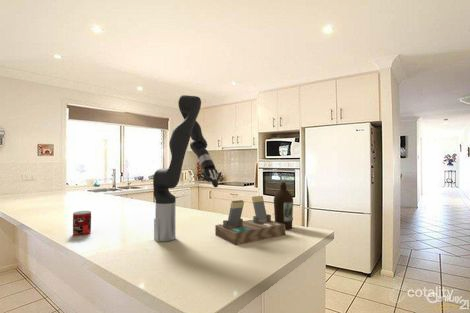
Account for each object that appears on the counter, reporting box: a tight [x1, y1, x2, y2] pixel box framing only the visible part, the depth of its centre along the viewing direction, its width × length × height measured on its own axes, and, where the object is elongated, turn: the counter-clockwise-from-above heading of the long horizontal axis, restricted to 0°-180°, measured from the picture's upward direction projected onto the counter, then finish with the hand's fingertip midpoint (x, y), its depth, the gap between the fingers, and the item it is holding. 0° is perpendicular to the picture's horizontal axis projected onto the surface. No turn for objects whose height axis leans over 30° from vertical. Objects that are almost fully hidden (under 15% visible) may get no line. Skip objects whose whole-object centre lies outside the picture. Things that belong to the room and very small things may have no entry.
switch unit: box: [214, 213, 286, 246], centre depth 131 cm, size 30×18×8 cm, turn 122°
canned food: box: [72, 210, 92, 237], centre depth 133 cm, size 8×8×11 cm
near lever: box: [227, 199, 245, 227], centre depth 126 cm, size 6×2×13 cm, turn 122°
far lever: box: [251, 195, 267, 222], centre depth 139 cm, size 6×2×13 cm, turn 122°
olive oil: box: [273, 181, 294, 231], centre depth 146 cm, size 11×11×25 cm
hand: (216, 186), depth 143 cm, fingers closed
